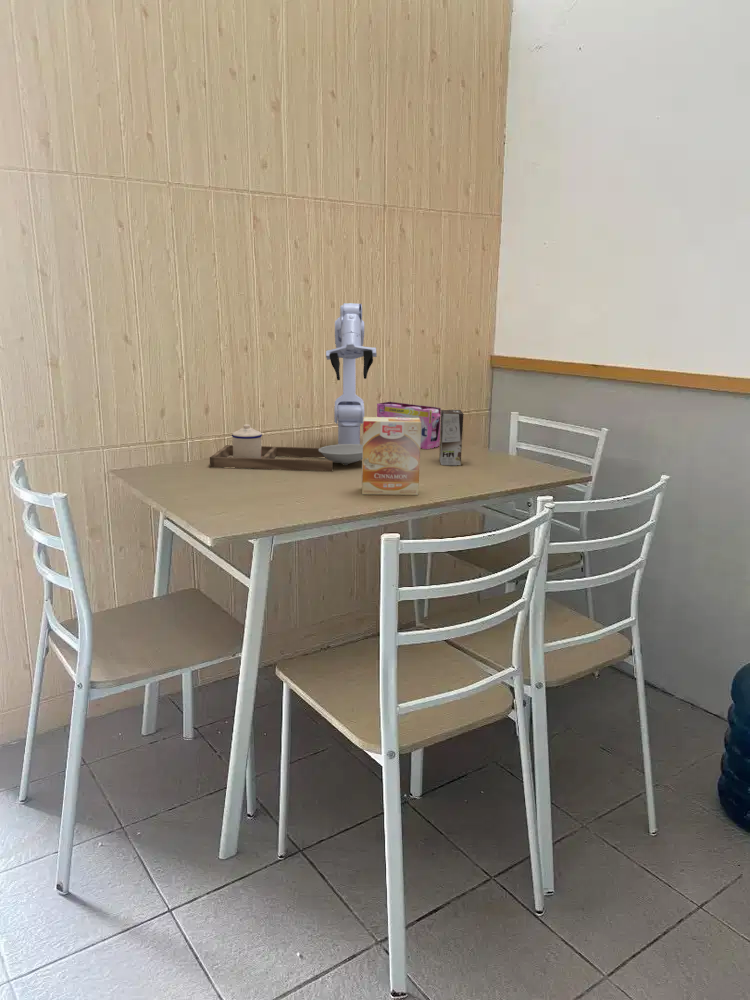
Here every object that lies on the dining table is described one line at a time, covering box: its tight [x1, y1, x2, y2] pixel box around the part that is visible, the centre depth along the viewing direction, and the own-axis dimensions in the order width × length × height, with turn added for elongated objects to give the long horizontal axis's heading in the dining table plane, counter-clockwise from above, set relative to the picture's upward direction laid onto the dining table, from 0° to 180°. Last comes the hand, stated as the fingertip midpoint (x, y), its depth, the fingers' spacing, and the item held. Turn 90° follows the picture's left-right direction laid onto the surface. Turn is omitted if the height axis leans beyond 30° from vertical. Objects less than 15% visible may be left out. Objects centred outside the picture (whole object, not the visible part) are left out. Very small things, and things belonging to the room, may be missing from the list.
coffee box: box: [438, 409, 464, 466], centre depth 233 cm, size 9×6×16 cm
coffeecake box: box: [361, 416, 421, 496], centre depth 196 cm, size 15×7×20 cm, turn 91°
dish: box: [318, 443, 363, 466], centre depth 229 cm, size 18×14×5 cm
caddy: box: [209, 444, 334, 472], centre depth 230 cm, size 19×36×3 cm, turn 86°
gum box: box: [376, 401, 442, 450], centre depth 262 cm, size 24×8×14 cm, turn 51°
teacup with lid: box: [231, 423, 263, 458], centre depth 230 cm, size 12×9×12 cm
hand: (351, 377), depth 214 cm, fingers open, 7 cm apart
